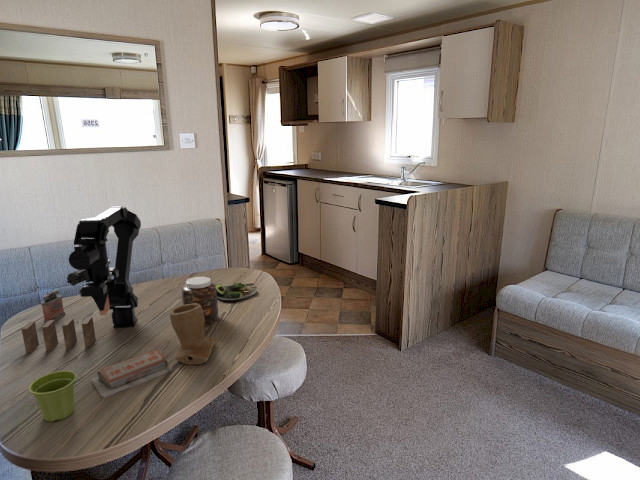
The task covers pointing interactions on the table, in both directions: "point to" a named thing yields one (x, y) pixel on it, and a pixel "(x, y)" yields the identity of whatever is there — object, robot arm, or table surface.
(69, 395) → the plant pot
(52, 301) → the lighter
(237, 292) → the salad plate
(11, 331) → the table surface
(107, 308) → the domino
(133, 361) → the packaged product
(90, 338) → the domino
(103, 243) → the robot arm
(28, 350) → the domino
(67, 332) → the domino
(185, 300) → the jar
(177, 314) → the tan boot
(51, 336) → the domino
